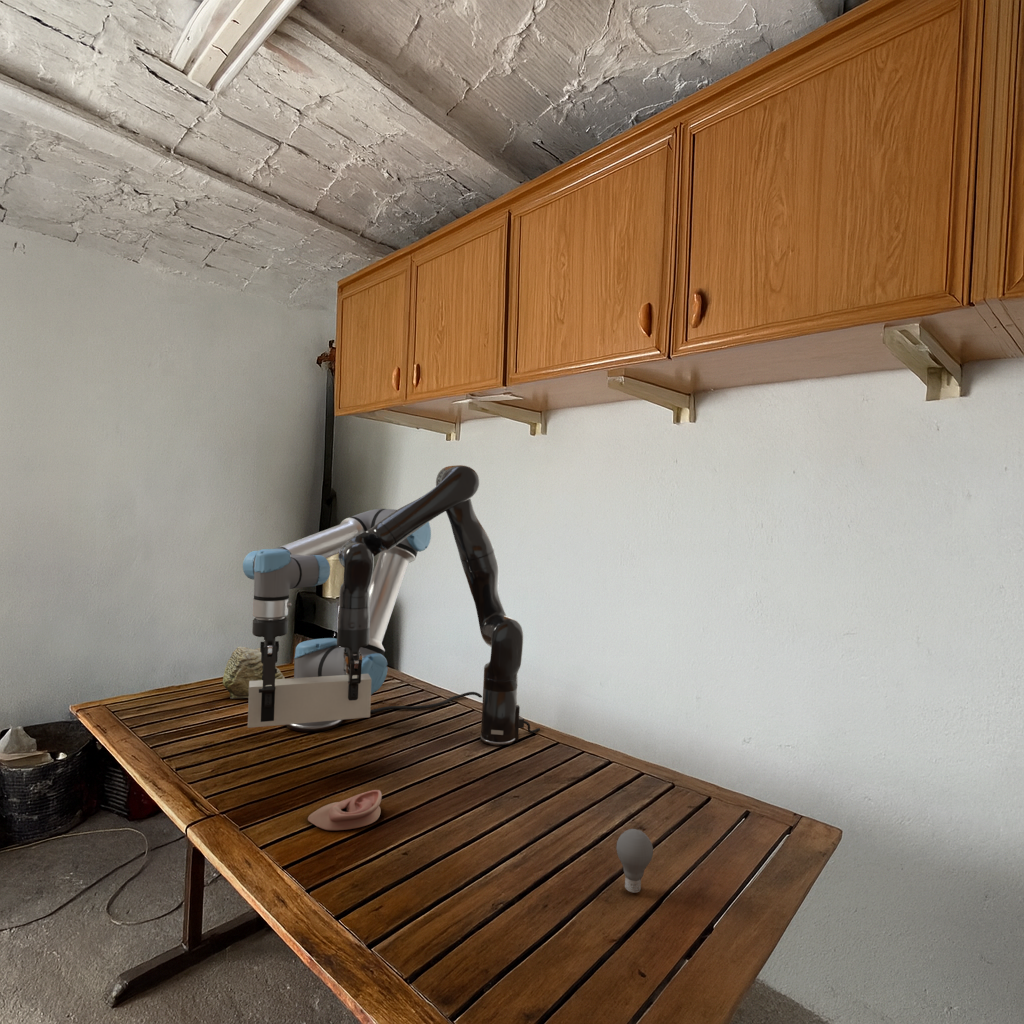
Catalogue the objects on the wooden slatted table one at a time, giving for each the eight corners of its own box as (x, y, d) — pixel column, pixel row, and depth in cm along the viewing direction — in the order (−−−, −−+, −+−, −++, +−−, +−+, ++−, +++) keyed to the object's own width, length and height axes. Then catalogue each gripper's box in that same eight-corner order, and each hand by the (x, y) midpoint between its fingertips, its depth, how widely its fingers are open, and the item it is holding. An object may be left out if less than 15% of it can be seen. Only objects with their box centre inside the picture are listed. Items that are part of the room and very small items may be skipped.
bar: (247, 728, 141) (248, 687, 140) (248, 720, 145) (249, 680, 145) (370, 717, 150) (371, 679, 150) (367, 710, 155) (368, 673, 155)
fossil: (218, 695, 195) (220, 647, 195) (278, 685, 208) (279, 640, 207) (228, 703, 189) (230, 653, 188) (289, 692, 201) (290, 645, 201)
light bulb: (610, 879, 108) (613, 822, 108) (644, 879, 109) (647, 822, 109) (619, 902, 102) (622, 840, 102) (655, 901, 103) (658, 840, 103)
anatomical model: (300, 805, 121) (329, 780, 132) (299, 826, 121) (328, 798, 133) (364, 815, 119) (388, 788, 130) (363, 836, 119) (387, 807, 130)
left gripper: (290, 627, 134) (286, 728, 134) (286, 607, 157) (283, 693, 157) (251, 628, 131) (248, 731, 132) (253, 608, 154) (250, 696, 154)
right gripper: (374, 631, 145) (371, 704, 146) (365, 619, 159) (363, 686, 159) (340, 632, 143) (338, 707, 143) (334, 620, 156) (332, 688, 156)
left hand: (267, 711), depth 144 cm, fingers open, 12 cm apart
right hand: (351, 695), depth 151 cm, fingers closed on bar, 5 cm apart
